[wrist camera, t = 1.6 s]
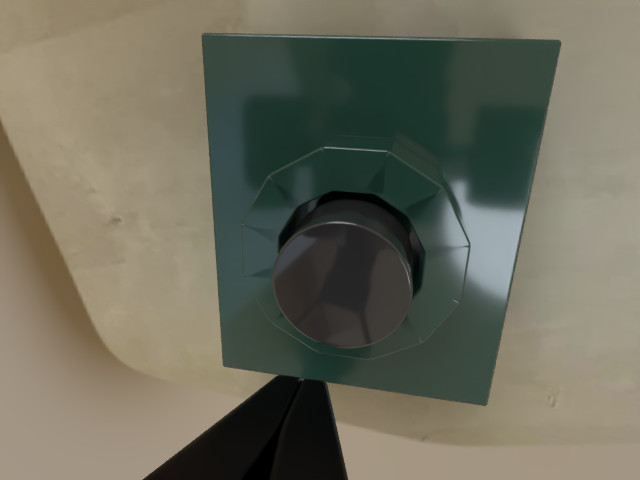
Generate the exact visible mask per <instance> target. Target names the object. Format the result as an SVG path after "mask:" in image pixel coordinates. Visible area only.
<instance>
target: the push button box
mask: <svg viewBox="0 0 640 480" xmlns="http://www.w3.org/2000/svg"><path fill="white" fill-rule="evenodd" d="M560 47H561V41H560V40H543V39H492V38H441V37H390V36H339V35H288V34H237V33H203V34H202V48H203V64H204V79H205V95H206V110H207V125H208V141H209V156H210V172H211V187H212V203H213V218H214V234H215V249H216V265H217V280H218V296H219V311H220V327H221V342H222V358H223V366H224V367H230V368H236V369H243V370H249V371H256V372H263V373H269V374H276V375H287V376H294V377H299V378H303V379H314V380H321V381H325V382H329V383H336V384H342V385H349V386H356V387H362V388H369V389H376V390H382V391H389V392H396V393H402V394H409V395H416V396H422V397H429V398H435V399H442V400H449V401H455V402H462V403H469V404H475V405H482V406H486V405H487V403H488V398H489V393H490V389H491V384H492V379H493V374H494V369H495V364H496V359H497V354H498V350H499V345H500V340H501V335H502V330H503V325H504V320H505V315H506V311H507V306H508V301H509V296H510V291H511V286H512V281H513V276H514V272H515V267H516V262H517V257H518V252H519V247H520V242H521V237H522V233H523V228H524V223H525V218H526V213H527V208H528V203H529V198H530V194H531V189H532V184H533V179H534V174H535V169H536V164H537V159H538V155H539V150H540V145H541V140H542V135H543V130H544V125H545V120H546V116H547V111H548V106H549V101H550V96H551V91H552V86H553V81H554V77H555V72H556V67H557V62H558V57H559V52H560ZM338 199H359V200H364V201H368V202H371V203H373V204H376V205H378V206H380V207H382V208H383V209H385V210H387V211H388V212H389V213H391V214H392V215H393V216H394V217H395V218H396V219H397V220H398V221H399V222H400V223H401V225H402V226H403V227H404V229H405V231H406V232H407V234H408V236H409V239H410V241H411V245H412V249H413V297H412V302H411V306H410V308H409V311H408V313H407V315H406V317H405V319H404V320H403V322H402V323H401V324H400V326H399V327H398V328H397V329H396V330H395V331H394V332H393V333H391V334H390V335H389V336H387V337H386V338H384V339H382V340H381V341H379V342H376V343H374V344H371V345H368V346H364V347H358V348H337V347H332V346H328V345H324V344H321V343H319V342H316V341H314V340H312V339H310V338H308V337H307V336H305V335H304V334H302V333H301V332H299V331H298V330H297V329H296V328H295V327H294V326H293V325H292V324H291V323H290V322H289V321H288V320H287V319H286V317H285V316H284V314H283V313H282V311H281V309H280V307H279V305H278V303H277V300H276V298H275V294H274V289H273V280H272V279H273V269H274V264H275V261H276V258H277V256H278V254H279V252H280V250H281V249H282V247H283V246H284V244H285V243H286V242H287V240H288V239H289V237H290V236H291V235H292V233H293V232H294V230H295V229H296V228H297V226H298V225H299V223H300V222H301V221H302V219H303V218H304V217H305V216H306V215H307V214H308V213H309V212H311V211H312V210H313V209H314V208H316V207H318V206H320V205H322V204H324V203H327V202H329V201H333V200H338Z"/></svg>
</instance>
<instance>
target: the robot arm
mask: <svg viewBox="0 0 640 480" xmlns="http://www.w3.org/2000/svg"><path fill="white" fill-rule="evenodd" d="M143 480H348V477H347V472H346V468H345V463H344V458H343V454H342V450H341V445H340V441H339V436H338V432H337V427H336V422H335V418H334V413H333V409H332V404H331V400H330V395H329V391H328V386H327V384H326V382H325V381H321V380H314V379H304V380H303V381H302V380H301V378H299V377H294V376H287V375H278V376H276V377H275V378H274V379H272V380H271V381H270V382H269V383H267V384H266V385H265V386H263V387H262V388H261V389H259V390H258V391H257V392H256V393H254V394H253V395H252V396H250V397H249V398H248V399H246V400H245V401H244V402H243V403H241V404H240V405H239V406H238V407H236V408H235V409H234V410H232V411H231V412H230V413H228V414H227V415H226V416H224V417H223V418H222V419H221V420H219V421H218V422H217V423H215V424H214V425H213V426H212V427H210V428H209V429H208V430H206V431H205V432H204V433H202V434H201V435H200V436H199V437H197V438H196V439H195V440H193V441H192V442H191V443H190V444H188V445H187V446H186V447H184V448H183V449H182V450H181V451H179V452H178V453H177V454H175V455H174V456H173V457H172V458H170V459H169V460H168V461H166V462H165V463H164V464H162V465H161V466H160V467H158V468H157V469H156V470H155V471H153V472H152V473H151V474H149V475H148V476H147V477H146V478H144V479H143Z"/></svg>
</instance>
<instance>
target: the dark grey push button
mask: <svg viewBox="0 0 640 480" xmlns="http://www.w3.org/2000/svg"><path fill="white" fill-rule="evenodd" d="M272 280H273V289H274V294H275V298H276V300H277V303H278V305H279V307H280V309H281V311H282V313H283V314H284V316H285V317H286V319H287V320H288V321H289V322H290V323H291V324H292V325H293V326H294V327H295V328H296V329H297V330H298V331H299V332H301V333H302V334H304V335H305V336H307V337H308V338H310V339H312V340H314V341H316V342H319V343H321V344H324V345H328V346H332V347H337V348H358V347H364V346H368V345H371V344H374V343H376V342H379V341H381V340H382V339H384V338H386V337H387V336H389V335H390V334H391V333H393V332H394V331H395V330H396V329H397V328H398V327H399V326H400V324H401V323H402V322H403V320H404V319H405V317H406V315H407V313H408V311H409V308H410V306H411V302H412V297H413V249H412V245H411V241H410V239H409V236H408V234H407V232H406V231H405V229H404V227H403V226H402V225H401V223H400V222H399V221H398V220H397V219H396V218H395V217H394V216H393V215H392V214H391V213H389V212H388V211H387V210H385V209H383V208H382V207H380V206H378V205H376V204H373V203H371V202H368V201H364V200H359V199H338V200H333V201H329V202H327V203H324V204H322V205H320V206H318V207H316V208H314V209H313V210H312V211H311V212H309V213H308V214H307V215H306V216H305V217H304V218H303V219H302V221H301V222H300V223H299V225H298V226H297V228H296V229H295V230H294V232H293V233H292V235H291V236H290V237H289V239H288V240H287V242H286V243H285V244H284V246H283V247H282V249H281V250H280V252H279V254H278V256H277V258H276V261H275V264H274V269H273V279H272Z"/></svg>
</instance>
